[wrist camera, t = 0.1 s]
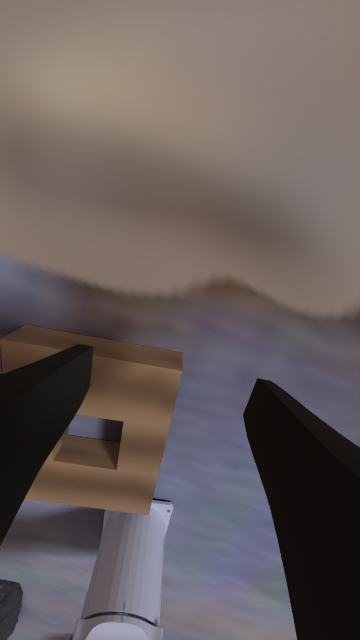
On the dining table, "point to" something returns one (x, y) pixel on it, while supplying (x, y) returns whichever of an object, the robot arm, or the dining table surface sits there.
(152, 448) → the board
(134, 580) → the robot arm
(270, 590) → the dining table surface
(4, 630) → the dark slate chunk
